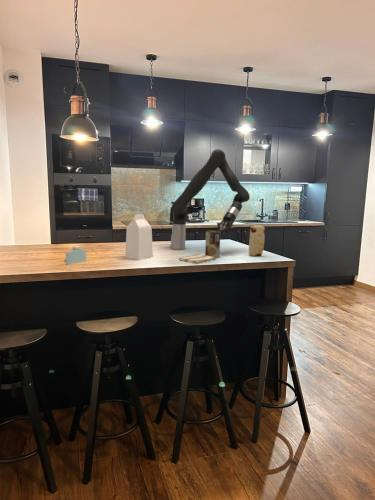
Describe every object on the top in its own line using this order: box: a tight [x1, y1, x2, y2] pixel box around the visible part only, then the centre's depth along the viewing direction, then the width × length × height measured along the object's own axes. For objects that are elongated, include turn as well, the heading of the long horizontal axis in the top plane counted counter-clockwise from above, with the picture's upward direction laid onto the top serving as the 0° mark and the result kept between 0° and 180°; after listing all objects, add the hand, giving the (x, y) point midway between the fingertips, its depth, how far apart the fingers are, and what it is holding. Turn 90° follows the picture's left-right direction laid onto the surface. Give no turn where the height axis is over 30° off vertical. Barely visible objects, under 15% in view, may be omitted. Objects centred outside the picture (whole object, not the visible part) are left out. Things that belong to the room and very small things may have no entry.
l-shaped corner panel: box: [64, 246, 87, 266], centre depth 199 cm, size 12×12×8 cm
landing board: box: [178, 253, 217, 265], centre depth 213 cm, size 14×17×2 cm
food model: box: [248, 224, 266, 257], centre depth 228 cm, size 10×7×20 cm
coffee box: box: [204, 230, 221, 259], centre depth 222 cm, size 9×6×16 cm
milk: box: [124, 213, 154, 261], centre depth 213 cm, size 12×12×26 cm
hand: (219, 235), depth 226 cm, fingers closed
